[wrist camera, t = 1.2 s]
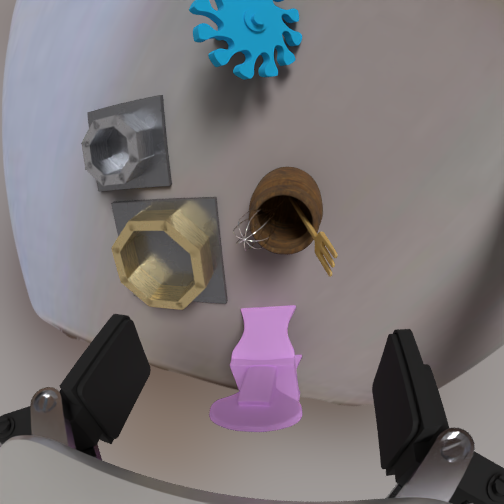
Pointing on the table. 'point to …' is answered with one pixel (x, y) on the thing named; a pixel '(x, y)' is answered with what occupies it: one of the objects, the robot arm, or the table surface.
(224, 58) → the gear
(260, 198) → the utensil holder
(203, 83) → the table surface
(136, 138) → the narrow socket
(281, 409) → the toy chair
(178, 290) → the wide socket
